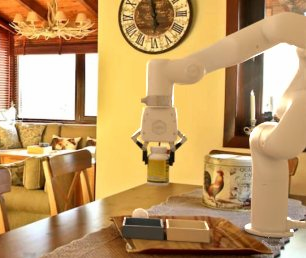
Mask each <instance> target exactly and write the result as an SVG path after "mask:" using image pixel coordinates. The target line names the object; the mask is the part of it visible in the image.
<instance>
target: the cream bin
mask: <svg viewBox="0 0 306 258" xmlns="http://www.w3.org/2000/svg"><path fill="white" fill-rule="evenodd" d="M165 232H166V233H165V234H166V240H167V241H173V242H174V241H175V242H191V243H192V242H193V243H208V244H210V243H211V230H210V226H209V225H208V223H207V221H206V220H195V219H194V220H193V219H192V220H191V219H175V218H173V219H171V218H166V219H165Z"/></svg>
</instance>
